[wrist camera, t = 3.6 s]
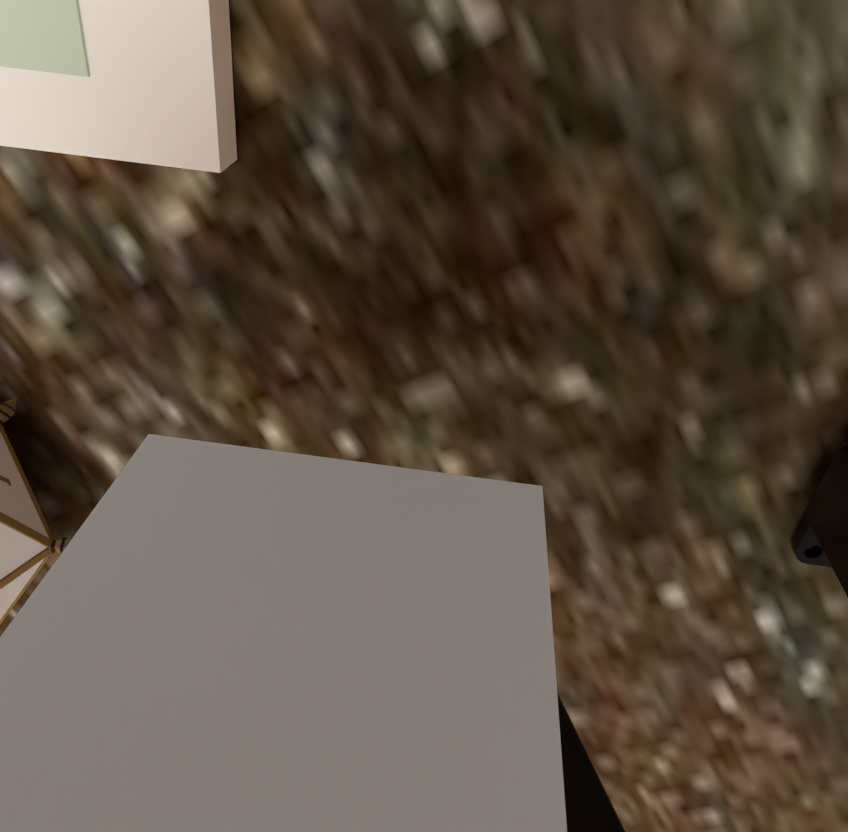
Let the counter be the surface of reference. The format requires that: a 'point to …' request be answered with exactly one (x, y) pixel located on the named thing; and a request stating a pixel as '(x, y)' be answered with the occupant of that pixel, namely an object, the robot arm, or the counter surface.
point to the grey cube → (287, 654)
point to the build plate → (119, 80)
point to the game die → (19, 524)
